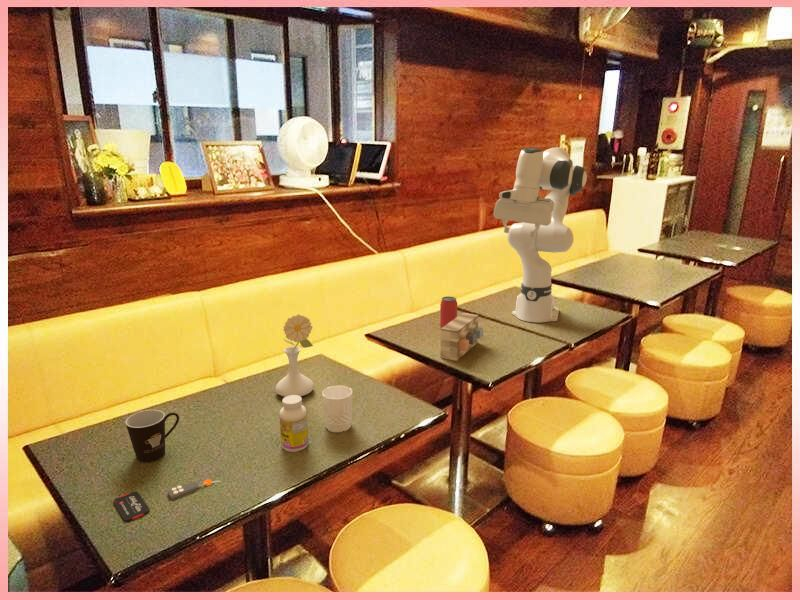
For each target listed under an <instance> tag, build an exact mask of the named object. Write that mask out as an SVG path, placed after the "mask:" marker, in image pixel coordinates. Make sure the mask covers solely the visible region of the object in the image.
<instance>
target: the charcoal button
mask: <svg viewBox="0 0 800 600" xmlns="http://www.w3.org/2000/svg"><path fill="white" fill-rule="evenodd" d="M466 339H467V340H469V344H471V345H473V344H474V343H475V342H476V334H474V333H468V334H467V335H466Z"/></svg>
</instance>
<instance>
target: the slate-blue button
mask: <svg viewBox="0 0 800 600" xmlns="http://www.w3.org/2000/svg"><path fill="white" fill-rule="evenodd" d="M473 333H474V334H476V338H478V339H482V337H483V336H484V328H483V327H479V326H478V327H475V328H474V329H473Z"/></svg>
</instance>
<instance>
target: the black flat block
mask: <svg viewBox="0 0 800 600" xmlns="http://www.w3.org/2000/svg"><path fill="white" fill-rule="evenodd" d="M113 505H114V507H115V508H116V510H117V512H118V513H119V515H120V516H121V519H122V520H123V521H124V522H126V523H127V522H131V521H135V520H138V519H140V518H142V517H144V516H145V515H148V513H150V512H151V511H150V508H149V506H148V505H147V504H146V502H145V500H144V498H142V495H141V494H140V493H139V492H138V491H132V492H128V493H125V494H122V495H120V496H119V497H117V498H115V499H113Z"/></svg>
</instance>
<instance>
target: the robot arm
mask: <svg viewBox="0 0 800 600" xmlns="http://www.w3.org/2000/svg"><path fill="white" fill-rule="evenodd" d="M587 179H588V175H587V169H585V167H584V166H580V165H573V160H572V159H571V158H570V154H569V152H568V151H567V150H566V149H564V148H562V147H558V146H557V147H556V146H555V147H551V148H548V149H545V150H544V151H543V150H542V149H541V148H538V147H525V148H523V149H521V150H520V153H519V156H518V160H517V163H516V168H515V181H514V184H513V188H512V189H507V190H504V191H500V192H499V194H498V197H499V199H497V200H496V201H495V206H494V209H493V215H492V216H493V217H494V219H499V220H502V225H503V227H504V229H503V233H504V234H505V233H506V234H507V236H506V237H507V238H506V239H507V243H508V244H509V245H510V246H511V248H513V250H514V251H516V253H517V254H518V256H519V259H520V261H521V264H522V283H521V285H520V293H519V294H518V295H517V296H516V302H515V303H516V304H515V310H512V311H511V315H513V316H515V317H516V318H517V319H519V320H520V321H521V320H522V321H524V322H528V323H537V324H538V323H549V322H557V321H558V318H559V313H560V310H559V308H558V307H556V306H555V298H554V296H553V295H552V288H553V287H552V286H553V283H552V270H553V269H552V266H551V264H550V263H549V262H548V261H547V260H546V259H543V258H542V256H541V255H540V253H539V252H542V253H543V252H545V253H551V254H554V253H565V252H568V251H569V249H571V247H572V246H573V243H574V234H573V233H574V232H573V231H572V229H571V228H570V227H569V226H567V225H565V224H564V223H563V221H564V218H565V216H566V214H567V211H568V206H569V197H570V196H572V197H575V196H576V195H577V194H579V193H580V192H581V191H582V190H583V189H584V188H585V185H586V183H587ZM540 190H542V191H543V190H546V191H550V192H549V193H548V194H547V195H546V196H544V197H539V192H540ZM508 221H511V222H515V223H512V224H511V226H510V227H508V225H507V224H508Z"/></svg>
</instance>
